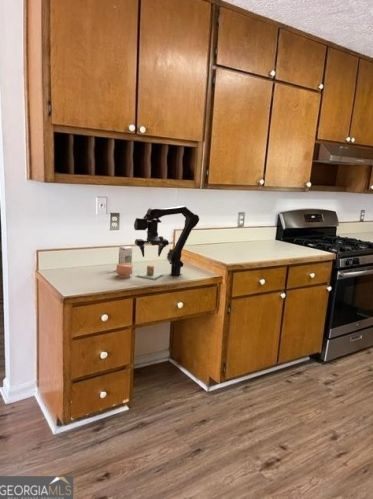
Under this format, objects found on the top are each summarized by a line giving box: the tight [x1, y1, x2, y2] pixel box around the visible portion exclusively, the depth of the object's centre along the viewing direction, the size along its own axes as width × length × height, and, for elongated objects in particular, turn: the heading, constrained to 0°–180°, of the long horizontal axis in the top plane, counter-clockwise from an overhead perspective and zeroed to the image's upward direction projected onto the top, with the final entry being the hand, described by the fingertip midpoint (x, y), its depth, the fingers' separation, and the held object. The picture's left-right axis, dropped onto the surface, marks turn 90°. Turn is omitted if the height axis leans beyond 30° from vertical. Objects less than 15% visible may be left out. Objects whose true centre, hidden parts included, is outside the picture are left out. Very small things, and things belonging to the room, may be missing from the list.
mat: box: [134, 274, 165, 281], centre depth 219 cm, size 13×13×1 cm
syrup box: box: [118, 245, 133, 265], centre depth 230 cm, size 6×6×14 cm
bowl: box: [115, 263, 133, 279], centre depth 215 cm, size 9×9×7 cm
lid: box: [136, 265, 164, 281], centre depth 219 cm, size 11×11×6 cm
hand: (151, 256), depth 217 cm, fingers open, 9 cm apart
